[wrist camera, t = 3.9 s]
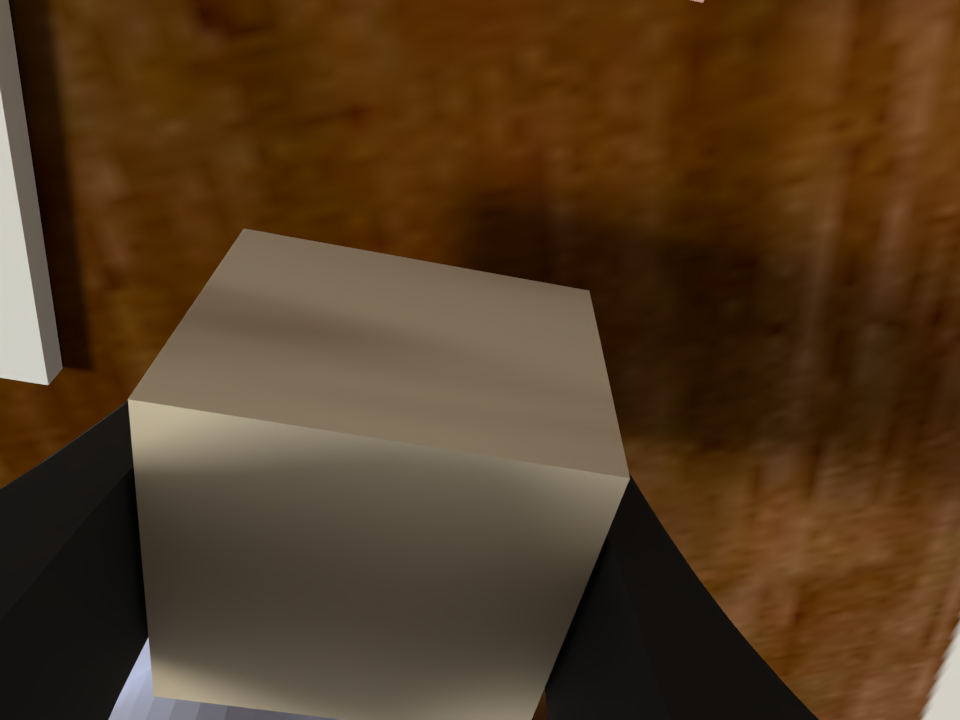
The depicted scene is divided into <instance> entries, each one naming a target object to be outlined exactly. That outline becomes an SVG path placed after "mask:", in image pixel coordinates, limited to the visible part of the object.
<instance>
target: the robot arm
mask: <svg viewBox="0 0 960 720" xmlns="http://www.w3.org/2000/svg"><path fill="white" fill-rule="evenodd" d="M629 476H630V479H629V482H628V484H627V487H626V489H625V492H624V494H623V497H622V499H621V501H620V504H619V506H618V509H617V511H616V514H615V516H614V519H613V521H612V524H611V526H610V528H609V531H608V533H607V536H606V538H605V541H604V543H603V546H602V548H601V551H600V553H599V555H598V558H597V560H596V563H595V565H594V568H593V570H592V573H591V575H590V578H589V580H588V582H587V585H586V587H585V590H584V592H583V595H582V597H581V600H580V602H579V605H578V607H577V609H576V612H575V614H574V617H573V619H572V622H571V624H570V627H569V629H568V632H567V634H566V636H565V639H564V641H563V644H562V646H561V649H560V651H559V654H558V656H557V659H556V661H555V663H554V666H553V668H552V671H551V673H550V676H549V678H548V681H547V683H546V686H545V693H546V703H547V712H548V720H818V719H817V718H816V717H815V716H814V715H813V714H812V713H811V712H810V711H809V709H808V708H807V707H806V706H805V705H804V704H803V703H802V702H801V701H800V700H799V699H798V698H797V697H796V696H795V695H794V694H793V693H792V691H791V690H790V689H789V688H788V687H787V686H786V685H785V684H784V683H783V682H782V680H781V679H780V678H779V677H778V676H777V675H776V674H775V672H774V671H773V670H772V669H771V668H770V667H769V666H768V664H767V663H766V662H765V661H764V660H763V659H762V658H761V657H760V655H759V654H758V653H757V652H756V651H755V650H754V649H753V647H752V646H751V645H750V644H749V643H748V642H747V640H746V639H745V638H744V637H743V636H742V634H741V633H740V632H739V631H738V629H737V628H736V627H735V626H734V625H733V623H732V622H731V621H730V620H729V618H728V617H727V616H726V614H725V613H724V612H723V610H722V609H721V608H720V607H719V605H718V604H717V603H716V601H715V600H714V599H713V597H712V596H711V595H710V593H709V592H708V591H707V589H706V588H705V587H704V586H703V584H702V583H701V581H700V580H699V579H698V577H697V576H696V574H695V573H694V572H693V570H692V569H691V567H690V566H689V564H688V563H687V562H686V560H685V559H684V557H683V556H682V554H681V553H680V551H679V550H678V548H677V547H676V545H675V544H674V542H673V541H672V539H671V538H670V536H669V535H668V534H667V532H666V531H665V529H664V527H663V526H662V524H661V523H660V521H659V520H658V518H657V517H656V515H655V513H654V512H653V510H652V509H651V507H650V506H649V504H648V502H647V501H646V499H645V498H644V496H643V494H642V493H641V491H640V490H639V488H638V486H637V485H636V483H635V481H634V480H633V478H632V476H631V475H630V473H629ZM0 720H342V719H334V718H326V717H318V716H310V715H302V714H293V713H285V712H277V711H269V710H261V709H253V708H245V707H236V706H228V705H220V704H212V703H204V702H196V701H188V700H179V699H171V698H163V697H155V696H154V694H153V682H152V671H151V659H150V648H149V636H148V625H147V613H146V602H145V590H144V579H143V567H142V556H141V544H140V533H139V521H138V510H137V498H136V487H135V475H134V464H133V452H132V441H131V429H130V418H129V406H128V401H127V402H125V403H124V404H123V405H121V406H120V407H119V408H117V409H116V410H115V411H113V412H112V413H111V414H109V415H108V416H106V417H105V418H104V419H102V420H101V421H100V422H98V423H97V424H96V425H94V426H93V427H91V428H90V429H89V430H87V431H86V432H84V433H83V434H82V435H80V436H79V437H77V438H76V439H74V440H73V441H72V442H70V443H69V444H67V445H66V446H64V447H63V448H62V449H60V450H59V451H57V452H56V453H55V454H53V455H52V456H50V457H49V458H47V459H46V460H44V461H43V462H42V463H40V464H39V465H37V466H36V467H34V468H33V469H31V470H30V471H28V472H26V473H25V474H23V475H22V476H20V477H19V478H17V479H15V480H14V481H12V482H11V483H9V484H8V485H6V486H4V487H3V488H1V489H0Z"/></svg>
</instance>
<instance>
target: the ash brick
mask: <svg viewBox="0 0 960 720" xmlns="http://www.w3.org/2000/svg"><path fill="white" fill-rule="evenodd" d="M128 406H129V418H130V429H131V441H132V452H133V464H134V475H135V487H136V498H137V510H138V521H139V533H140V544H141V556H142V567H143V579H144V590H145V602H146V613H147V625H148V636H149V648H150V659H151V671H152V682H153V694H154V696H155V697H163V698H171V699H179V700H188V701H196V702H204V703H212V704H220V705H228V706H236V707H245V708H253V709H261V710H269V711H277V712H285V713H293V714H302V715H310V716H318V717H326V718H334V719H342V720H532V717H533V715H534V713H535V710H536V708H537V705H538V703H539V700H540V698H541V695H542V693H543V690H544V688H545V686H546V683H547V681H548V678H549V676H550V673H551V671H552V668H553V666H554V663H555V661H556V659H557V656H558V654H559V651H560V649H561V646H562V644H563V641H564V639H565V636H566V634H567V632H568V629H569V627H570V624H571V622H572V619H573V617H574V614H575V612H576V609H577V607H578V605H579V602H580V600H581V597H582V595H583V592H584V590H585V587H586V585H587V582H588V580H589V578H590V575H591V573H592V570H593V568H594V565H595V563H596V560H597V558H598V555H599V553H600V551H601V548H602V546H603V543H604V541H605V538H606V536H607V533H608V531H609V528H610V526H611V524H612V521H613V519H614V516H615V514H616V511H617V509H618V506H619V504H620V501H621V499H622V497H623V494H624V492H625V489H626V487H627V484H628V482H629V479H630V476H629V472H628V467H627V462H626V458H625V453H624V448H623V444H622V439H621V435H620V430H619V425H618V421H617V416H616V412H615V407H614V402H613V398H612V393H611V388H610V384H609V379H608V375H607V370H606V365H605V361H604V356H603V351H602V347H601V342H600V338H599V333H598V328H597V324H596V319H595V314H594V310H593V305H592V301H591V296H590V291H588V290H583V289H577V288H572V287H566V286H561V285H555V284H549V283H544V282H538V281H533V280H527V279H522V278H516V277H510V276H505V275H499V274H494V273H488V272H483V271H477V270H471V269H466V268H460V267H455V266H449V265H444V264H438V263H433V262H427V261H421V260H416V259H410V258H405V257H399V256H394V255H388V254H382V253H377V252H371V251H366V250H360V249H355V248H349V247H343V246H338V245H332V244H327V243H321V242H316V241H310V240H305V239H299V238H293V237H288V236H282V235H277V234H271V233H266V232H260V231H254V230H249V229H243V231H242V232H241V234H240V235H239V236H238V238H237V239H236V241H235V242H234V244H233V245H232V247H231V248H230V250H229V251H228V253H227V254H226V256H225V257H224V259H223V260H222V261H221V263H220V264H219V266H218V267H217V269H216V270H215V272H214V273H213V275H212V276H211V278H210V279H209V281H208V282H207V284H206V285H205V286H204V288H203V289H202V291H201V292H200V294H199V295H198V297H197V298H196V300H195V301H194V303H193V304H192V306H191V307H190V309H189V310H188V312H187V313H186V314H185V316H184V317H183V319H182V320H181V322H180V323H179V325H178V326H177V328H176V329H175V331H174V332H173V334H172V335H171V337H170V338H169V339H168V341H167V342H166V344H165V345H164V347H163V348H162V350H161V351H160V353H159V354H158V356H157V357H156V359H155V360H154V362H153V363H152V365H151V366H150V367H149V369H148V370H147V372H146V373H145V375H144V376H143V378H142V379H141V381H140V382H139V384H138V385H137V387H136V388H135V390H134V391H133V392H132V394H131V395H130V397H129V398H128Z"/></svg>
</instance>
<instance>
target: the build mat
mask: <svg viewBox="0 0 960 720" xmlns="http://www.w3.org/2000/svg"><path fill="white" fill-rule="evenodd" d="M61 370H62V361H61V354H60V347H59V340H58V334H57V327H56V320H55V313H54V306H53V300H52V293H51V286H50V279H49V272H48V265H47V259H46V252H45V245H44V238H43V231H42V225H41V218H40V211H39V204H38V197H37V191H36V184H35V177H34V170H33V163H32V157H31V150H30V143H29V136H28V129H27V123H26V116H25V109H24V102H23V95H22V88H21V82H20V75H19V68H18V61H17V54H16V48H15V41H14V34H13V27H12V20H11V14H10V7H9V0H0V378H6V379H12V380H18V381H25V382H31V383H37V384H44V385H49V384H50V383H51V381H52V380H53V379H54V378H55V377H56V376H57V374H58V373H59V372H60V371H61Z"/></svg>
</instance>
